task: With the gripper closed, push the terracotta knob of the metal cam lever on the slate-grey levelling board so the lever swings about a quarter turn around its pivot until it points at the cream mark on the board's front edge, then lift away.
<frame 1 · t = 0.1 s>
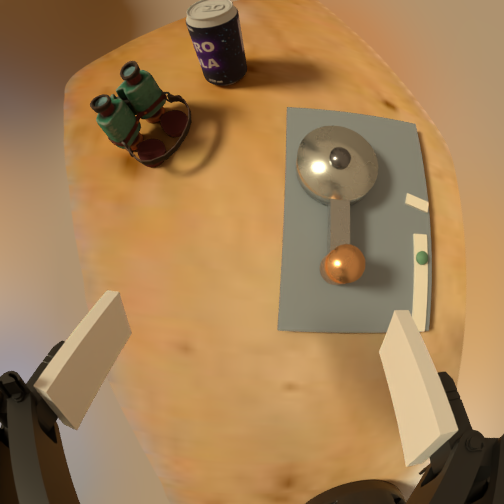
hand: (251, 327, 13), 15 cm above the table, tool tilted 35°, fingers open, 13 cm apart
cam lever: (340, 196, 25), point 4 cm above the table, hinge at 180.0°
binoculars: (162, 138, 32), on the table
level board: (359, 214, 28), on the table
beverage can: (226, 75, 33), on the table
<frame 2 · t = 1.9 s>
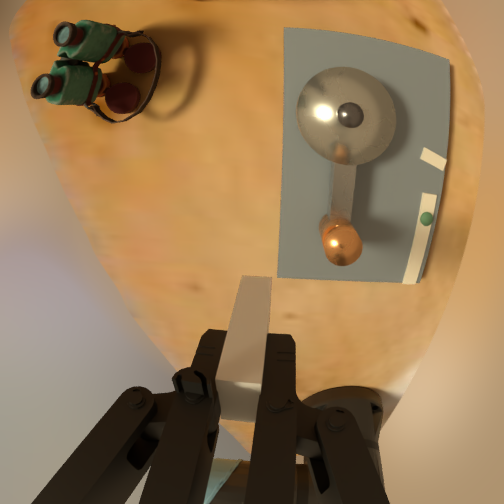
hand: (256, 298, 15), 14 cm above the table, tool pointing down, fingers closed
cam lever: (346, 162, 21), point 4 cm above the table, hinge at 180.0°
binoculars: (132, 74, 23), on the table
level board: (367, 161, 24), on the table
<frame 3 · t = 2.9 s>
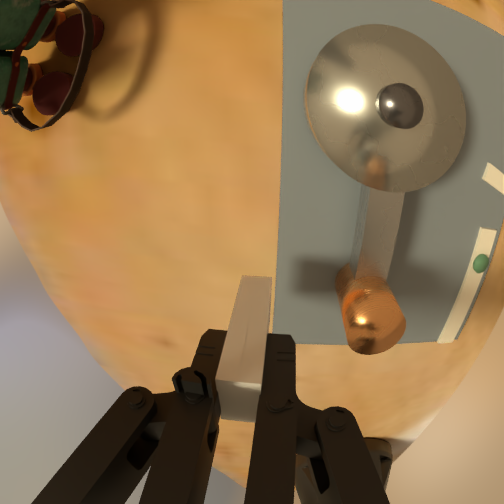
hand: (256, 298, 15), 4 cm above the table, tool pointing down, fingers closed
cam lever: (390, 187, 12), point 4 cm above the table, hinge at 180.0°
binoculars: (69, 59, 13), on the table
level board: (409, 179, 15), on the table
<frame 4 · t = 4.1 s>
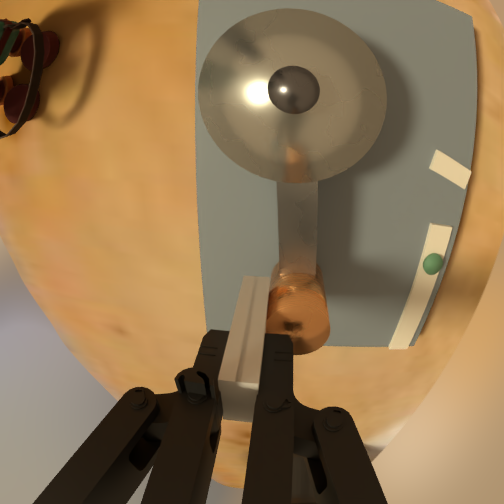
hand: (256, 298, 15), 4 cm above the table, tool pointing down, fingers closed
cam lever: (297, 178, 12), point 4 cm above the table, hinge at 185.0°, touching gripper
binoculars: (34, 72, 14), on the table
level board: (340, 171, 15), on the table
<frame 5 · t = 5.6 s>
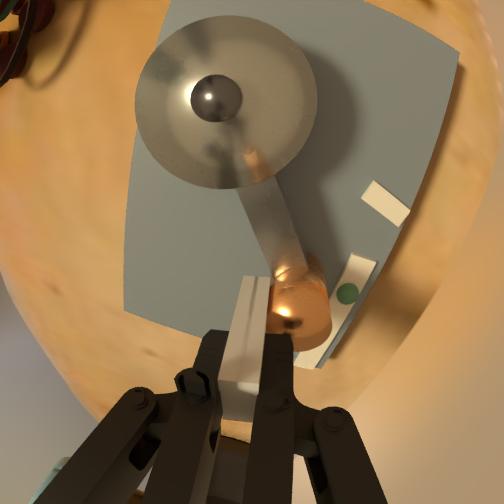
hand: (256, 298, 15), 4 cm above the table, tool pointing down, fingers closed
cam lever: (252, 179, 12), point 4 cm above the table, hinge at 217.0°, touching gripper
binoculars: (28, 33, 12), on the table
level board: (269, 182, 16), on the table
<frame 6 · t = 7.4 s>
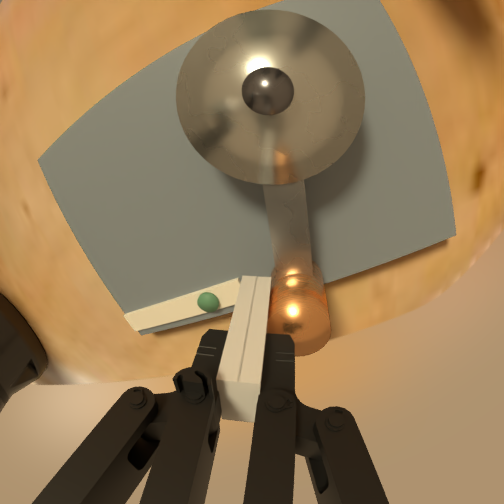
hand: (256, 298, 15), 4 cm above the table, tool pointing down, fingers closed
cam lever: (282, 178, 12), point 4 cm above the table, hinge at 254.9°, touching gripper
level board: (231, 174, 16), on the table
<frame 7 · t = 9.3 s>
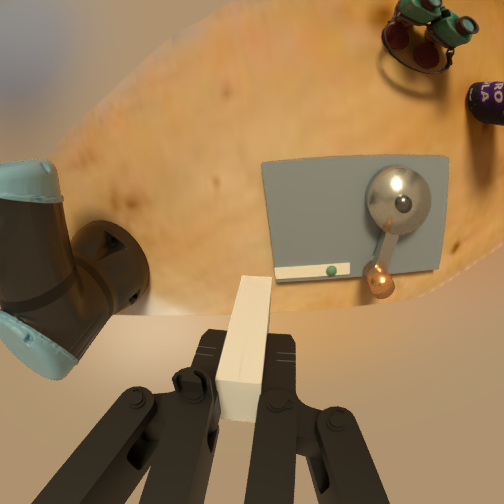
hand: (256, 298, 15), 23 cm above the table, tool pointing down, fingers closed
cam lever: (393, 232, 31), point 4 cm above the table, hinge at 255.0°
binoculars: (411, 43, 24), on the table
level board: (362, 216, 35), on the table
beverage can: (478, 102, 25), on the table
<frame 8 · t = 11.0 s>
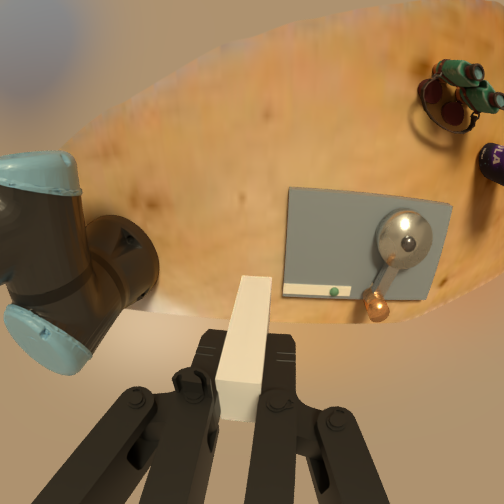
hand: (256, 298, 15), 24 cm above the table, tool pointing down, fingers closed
cam lever: (395, 267, 35), point 4 cm above the table, hinge at 255.0°
binoculars: (441, 98, 28), on the table
level board: (368, 247, 39), on the table
beverage can: (487, 159, 30), on the table
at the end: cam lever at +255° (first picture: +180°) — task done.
